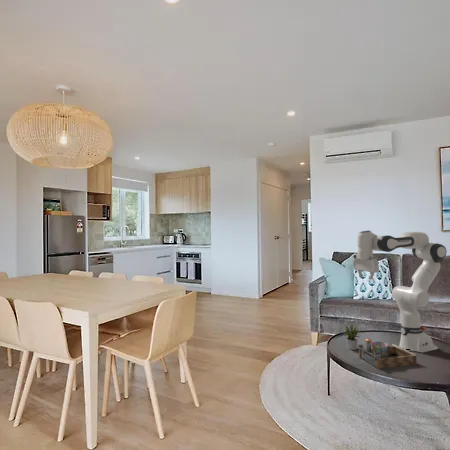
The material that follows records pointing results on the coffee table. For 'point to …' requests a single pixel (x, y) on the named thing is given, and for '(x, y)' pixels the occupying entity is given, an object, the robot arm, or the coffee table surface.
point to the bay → (401, 360)
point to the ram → (366, 356)
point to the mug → (380, 348)
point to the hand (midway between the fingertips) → (365, 278)
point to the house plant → (352, 337)
